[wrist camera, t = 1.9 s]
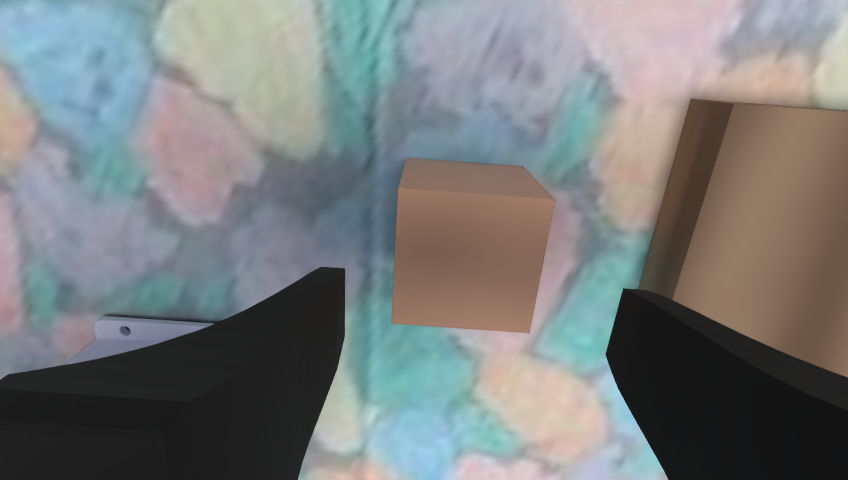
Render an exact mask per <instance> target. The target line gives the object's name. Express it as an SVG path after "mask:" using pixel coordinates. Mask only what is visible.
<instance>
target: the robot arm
mask: <svg viewBox="0 0 848 480" xmlns="http://www.w3.org/2000/svg"><path fill="white" fill-rule="evenodd" d="M125 326H126V327H128V328H129V329H130V331H129V330H128V329H126V327H125ZM93 329H94V333H95V337H96V340H95V341H93V342H92V343H91V344H90V345H88V346H87V347H86V348H85V349H83V350H82V351H81V352H80V353H79V354H77V355H76V356H75V357H74V358H72V359H71V360H70V361H69V362H67V363H66V364H65V365H62V366H56V367H50V368H45V369H39V370H33V371H28V372H21V373H14V374H9V375H7V376H5V377H4V378H2V379H1V380H0V480H298V476H299V473H300V469H301V465H302V462H303V459H304V456H305V453H306V450H307V447H308V444H309V441H310V439H311V436H312V433H313V431H314V428H315V426H316V423H317V420H318V418H319V415H320V413H321V410H322V408H323V405H324V402H325V400H326V397H327V395H328V392H329V389H330V387H331V384H332V381H333V379H334V376H335V373H336V371H337V367H338V363H339V359H340V355H341V351H342V346H343V342H344V337H345V269H344V268H330V267H320V268H318V269H316V270H314V271H312V272H311V273H309V274H307V275H306V276H304V277H303V278H301V279H299V280H298V281H296V282H295V283H293V284H291V285H290V286H288V287H286V288H285V289H283V290H281V291H280V292H278V293H276V294H274V295H273V296H271V297H269V298H267V299H265V300H263V301H261V302H259V303H258V304H256V305H254V306H252V307H250V308H248V309H246V310H244V311H242V312H240V313H238V314H236V315H234V316H232V317H229V318H227V319H225V320H222V321H220V322H218V323H215V324H213V323H198V322H184V321H169V320H154V319H139V318H125V317H110V316H104V317H101V318H100V319H98V320H97V321H96V322H95V323H94V325H93ZM606 357H607V360H608V363H609V366H610V369H611V372H612V374H613V377H614V379H615V382H616V384H617V387H618V389H619V391H620V393H621V395H622V397H623V398H624V400H625V402H626V404H627V406H628V407H629V409H630V411H631V413H632V415H633V417H634V418H635V420H636V422H637V424H638V425H639V427H640V429H641V431H642V432H643V434H644V436H645V438H646V440H647V441H648V443H649V445H650V447H651V448H652V450H653V452H654V454H655V455H656V457H657V459H658V461H659V463H660V464H661V466H662V468H663V470H664V472H665V474H666V476H667V478H668V480H848V377H845V376H843V375H840V374H837V373H834V372H832V371H829V370H827V369H824V368H821V367H819V366H816V365H814V364H811V363H808V362H806V361H803V360H801V359H798V358H796V357H793V356H791V355H788V354H786V353H784V352H781V351H779V350H777V349H774V348H772V347H770V346H768V345H765V344H763V343H761V342H759V341H757V340H754V339H752V338H750V337H748V336H746V335H743V334H741V333H739V332H737V331H735V330H733V329H731V328H729V327H727V326H725V325H723V324H721V323H719V322H716V321H714V320H712V319H710V318H708V317H706V316H704V315H702V314H700V313H698V312H696V311H694V310H692V309H690V308H688V307H686V306H684V305H682V304H680V303H678V302H676V301H673V300H671V299H669V298H667V297H664V296H662V295H660V294H657V293H654V292H651V291H648V290H638V289H624V288H623V292H622V295H621V299H620V303H619V306H618V310H617V314H616V318H615V321H614V325H613V329H612V333H611V336H610V340H609V344H608V347H607V351H606Z"/></svg>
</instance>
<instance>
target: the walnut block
mask: <svg viewBox="0 0 848 480" xmlns="http://www.w3.org/2000/svg"><path fill="white" fill-rule="evenodd" d="M638 290H648V291H651V292H654V293H657V294H660V295H662V296H664V297H667V298H669V299H671V300H673V301H676V302H678V303H680V304H682V305H684V306H686V307H688V308H690V309H692V310H694V311H696V312H698V313H700V314H702V315H704V316H706V317H708V318H710V319H712V320H714V321H716V322H719V323H721V324H723V325H725V326H727V327H729V328H731V329H733V330H735V331H737V332H739V333H741V334H743V335H746V336H748V337H750V338H752V339H754V340H757V341H759V342H761V343H763V344H765V345H768V346H770V347H772V348H774V349H777V350H779V351H781V352H784V353H786V354H788V355H791V356H793V357H796V358H798V359H801V360H803V361H806V362H808V363H811V364H814V365H816V366H819V367H821V368H824V369H827V370H829V371H832V372H834V373H837V374H840V375H843V376H845V377H848V111H846V110H832V109H819V108H805V107H792V106H779V105H765V104H752V103H738V102H725V101H711V100H698V99H691V101H690V104H689V108H688V111H687V115H686V119H685V122H684V126H683V129H682V133H681V137H680V140H679V144H678V147H677V151H676V154H675V158H674V162H673V165H672V169H671V172H670V176H669V180H668V183H667V187H666V190H665V194H664V198H663V201H662V205H661V208H660V212H659V216H658V219H657V223H656V226H655V230H654V233H653V237H652V241H651V244H650V248H649V251H648V255H647V259H646V262H645V266H644V269H643V273H642V277H641V280H640V284H639V287H638Z"/></svg>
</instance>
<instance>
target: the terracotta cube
mask: <svg viewBox="0 0 848 480" xmlns="http://www.w3.org/2000/svg"><path fill="white" fill-rule="evenodd" d="M554 201H555V199H554V198H553V197H552V196H551V195H550V194H549V193H548V192H547V191H546V190H545V189H544V188H543V187H542V186H541V185H540V184H539V183H538V182H537V181H536V180H535V179H534V178H533V176H532V175H531V174H530V173H529V172H528V171H527V170H526V169H525V168H524V167H523V166H511V165H497V164H484V163H471V162H457V161H444V160H430V159H417V158H406V161H405V165H404V168H403V172H402V176H401V179H400V183H399V187H398V201H397V220H396V239H395V259H394V278H393V297H392V317H391V323H392V324H406V325H420V326H435V327H449V328H464V329H478V330H493V331H507V332H522V333H530V328H531V323H532V318H533V312H534V307H535V302H536V296H537V291H538V286H539V281H540V275H541V270H542V265H543V259H544V254H545V249H546V243H547V238H548V233H549V227H550V222H551V217H552V211H553V206H554Z"/></svg>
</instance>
